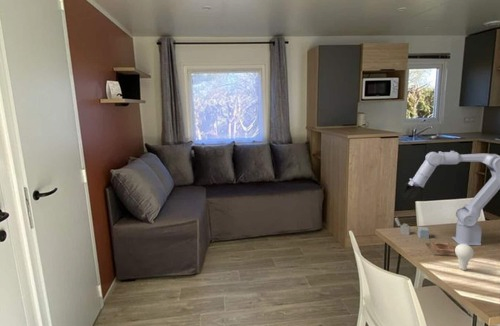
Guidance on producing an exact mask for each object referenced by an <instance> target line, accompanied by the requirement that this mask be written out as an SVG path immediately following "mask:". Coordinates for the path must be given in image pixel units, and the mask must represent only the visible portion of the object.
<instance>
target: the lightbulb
mask: <svg viewBox="0 0 500 326" xmlns="http://www.w3.org/2000/svg"><path fill="white" fill-rule="evenodd" d="M455 253H456V255H457V257H456V258H457V259H458V266H459V267H458V268H459V269H460V270H462V271H467V269H468V265H469V262H470V260H471V259H472V258H473V257H474V253H475V252H474V249H473V248H472V246H471V245H467V244H457V245H456V246H455Z"/></svg>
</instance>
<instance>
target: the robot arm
mask: <svg viewBox="0 0 500 326" xmlns="http://www.w3.org/2000/svg"><path fill="white" fill-rule="evenodd" d="M461 162H469V163H472V162H473V163H483V164H484V165H486V166H487V168H488V169H489V171H490V174H491V177H490V178H489V179H488V181H487V182H486V183H485V184H484V185H483V186H482V188H481V189H480V190H479V191H478V192H477V193H476V195H475V196H474V197H473V198H472V199H471V200H470V202H469V203H466V204H464V205H463V206H462V207H460V208H458V209H457V210H456V211H455V216H456V218H457V220H456V226H455V227H456V229H455V236H452V237H451V238H452V239H453V240H454V241H455V242H456V243H457V245H459V244H467V245H469V246H482V243H481V242H482V227H481V226H480V225H479V224H478V221H479V218H480V217H481V212H482V210H483V209H484V207H485V206H486V205H487V204H488V203H489V202H490V201H491V200H492V198H493V197H494V196H496V194H497V193H498V191H499V190H500V155H498V154H497V153H483V152H482V153H468V154H467V153H466V154H460V153H459V152H457V151H455V150H450V151H443V152H442V151H438V152H436V151H430V152H428V153H427V154H426V155H425V159H424V161H423V163H422V164H421V165H420V167H419V168H418V170H417V171H416V173H415V175H414V176H413V177H412V178H411V177H410V178H409V181H408V182H405V184H404V190H403V193H402V197H403V198H404V199H405V200H407V199H410V200H414V199H415V198H416V197H417V196H418V195H419V194H421V193H423V192H424V191H425V189H424V188H425V185H426V183H427V181H428V180H429V179H430V177H431V176H432V174H433V173H434V171H435V170H436V168H437V166H440V165H458V164H459V163H461Z"/></svg>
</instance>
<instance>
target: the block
mask: <svg viewBox="0 0 500 326" xmlns="http://www.w3.org/2000/svg"><path fill="white" fill-rule="evenodd" d="M417 237H418V238H419V239H423V238H424V239H427V240H429V239H430V229H429V228H428V227H427V226H425V227H424V226H418V227H417Z"/></svg>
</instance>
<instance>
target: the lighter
mask: <svg viewBox="0 0 500 326" xmlns="http://www.w3.org/2000/svg"><path fill="white" fill-rule="evenodd" d="M394 221H395V223H396V225H397V227H400V232H399V234H402V235H407V236H409V235H410V232H411V229H410V228H411V225H408V223H405V222H404V223H402V224H401V221H400V219H399V217H395V218H394Z"/></svg>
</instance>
